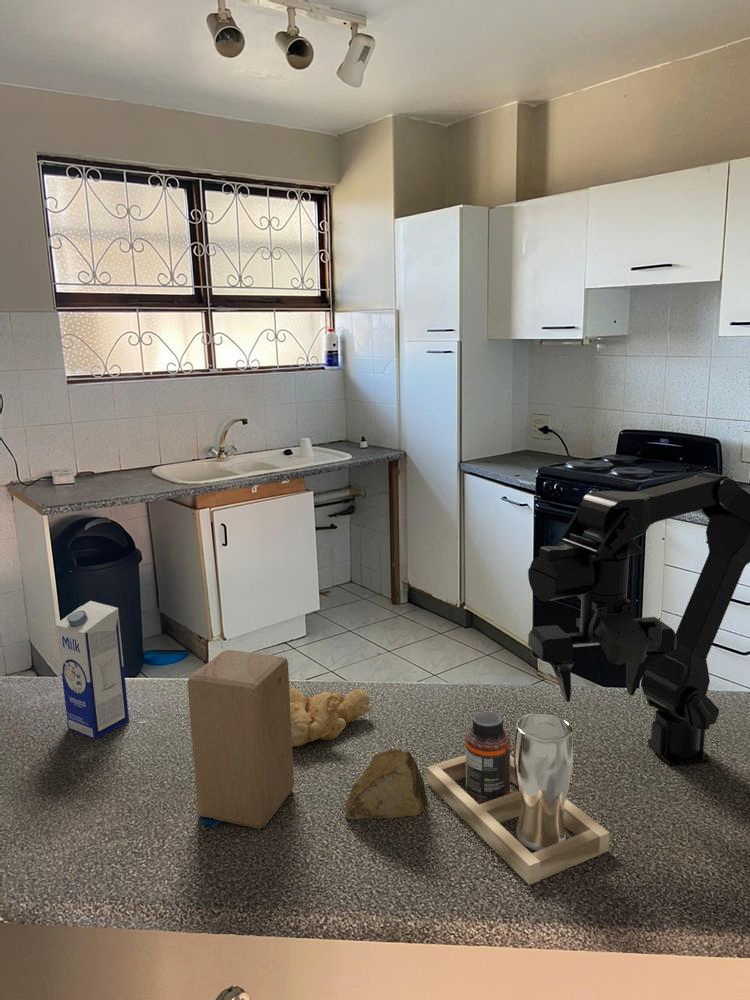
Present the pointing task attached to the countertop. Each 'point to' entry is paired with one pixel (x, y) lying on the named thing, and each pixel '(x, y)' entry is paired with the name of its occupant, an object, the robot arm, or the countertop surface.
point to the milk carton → (93, 669)
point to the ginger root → (324, 714)
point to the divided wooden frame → (504, 808)
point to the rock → (388, 788)
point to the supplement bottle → (487, 758)
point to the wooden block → (241, 737)
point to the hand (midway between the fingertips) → (598, 697)
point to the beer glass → (542, 778)
